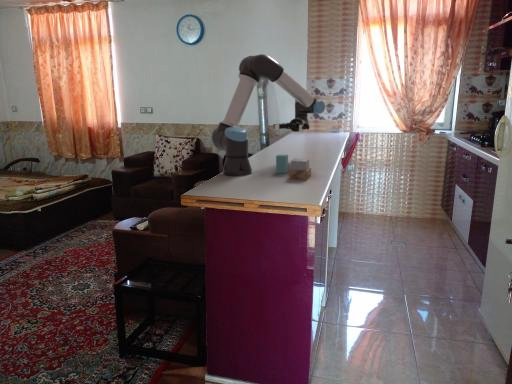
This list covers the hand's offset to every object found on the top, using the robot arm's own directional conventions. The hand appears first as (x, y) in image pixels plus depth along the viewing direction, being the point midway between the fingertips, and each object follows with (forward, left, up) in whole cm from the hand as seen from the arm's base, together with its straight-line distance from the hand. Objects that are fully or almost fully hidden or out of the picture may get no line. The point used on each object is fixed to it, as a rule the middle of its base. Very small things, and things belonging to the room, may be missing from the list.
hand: (287, 128), depth 212 cm
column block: (0, -10, -22) cm, 24 cm away
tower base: (+12, -20, -22) cm, 32 cm away
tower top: (+12, -20, -18) cm, 29 cm away
